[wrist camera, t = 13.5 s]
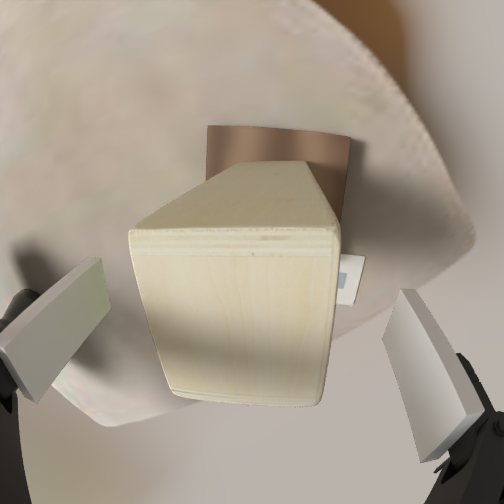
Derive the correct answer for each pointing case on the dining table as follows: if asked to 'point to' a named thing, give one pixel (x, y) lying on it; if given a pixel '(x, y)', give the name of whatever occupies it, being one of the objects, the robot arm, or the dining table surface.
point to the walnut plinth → (283, 154)
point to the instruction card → (349, 278)
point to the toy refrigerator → (242, 285)
